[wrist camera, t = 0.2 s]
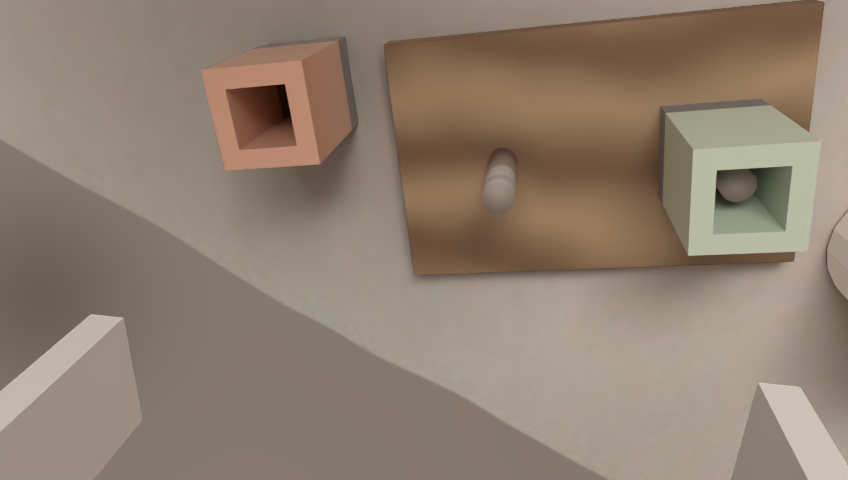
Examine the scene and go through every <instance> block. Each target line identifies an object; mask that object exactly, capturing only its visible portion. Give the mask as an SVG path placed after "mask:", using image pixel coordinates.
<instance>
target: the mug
mask: <svg viewBox="0 0 848 480" xmlns="http://www.w3.org/2000/svg"><path fill="white" fill-rule="evenodd" d="M827 269H828V271H829V273H830V275H831V278H832V280H833V282H834V285H835V286H836V287H837V288H838V290H839V291H840V292H841V293H842V294H843V295H844V296H845V298H846V299H847V300H848V211H847V212H846V214H845V215H844V216H843V218H842V219H841V220H840V221H839V223H838V224H837V225H836V227H835V228H834V231H833V233H832V236H831V239H830V241H829V244H828V247H827Z"/></svg>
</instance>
